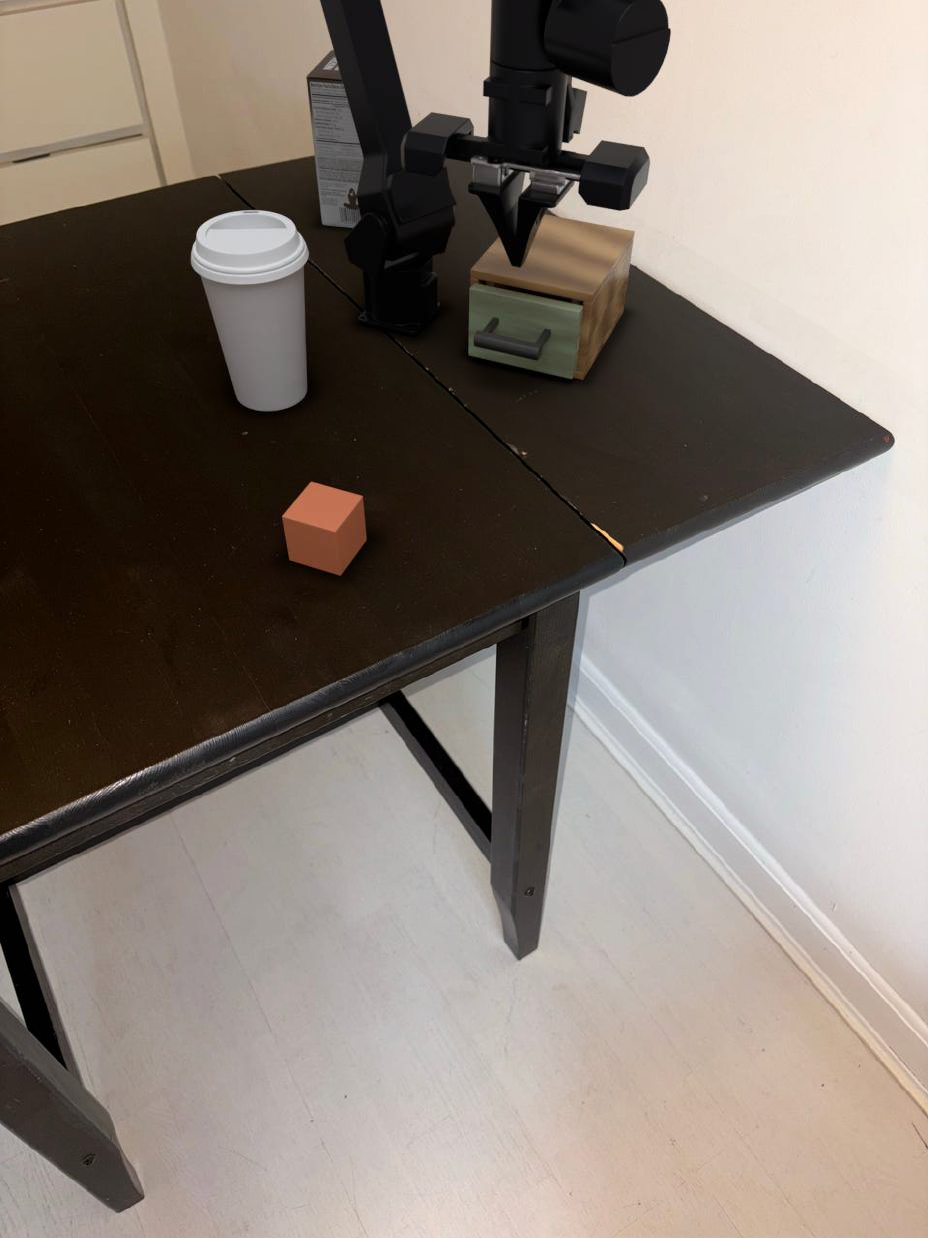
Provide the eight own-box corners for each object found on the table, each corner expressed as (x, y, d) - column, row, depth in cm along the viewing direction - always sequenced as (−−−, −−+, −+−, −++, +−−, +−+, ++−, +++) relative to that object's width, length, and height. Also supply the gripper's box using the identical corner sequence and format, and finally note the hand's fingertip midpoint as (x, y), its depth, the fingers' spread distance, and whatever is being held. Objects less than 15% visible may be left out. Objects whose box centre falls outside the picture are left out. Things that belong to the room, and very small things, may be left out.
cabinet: (583, 380, 89) (593, 294, 83) (468, 353, 92) (470, 269, 86) (623, 312, 98) (634, 230, 92) (517, 290, 101) (522, 209, 95)
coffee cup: (340, 374, 90) (325, 215, 79) (295, 430, 83) (272, 267, 72) (249, 355, 92) (222, 198, 81) (199, 408, 85) (162, 247, 75)
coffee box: (342, 193, 117) (330, 47, 105) (393, 198, 116) (386, 51, 105) (320, 226, 111) (304, 74, 99) (373, 231, 110) (364, 79, 98)
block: (289, 560, 72) (281, 516, 69) (317, 525, 75) (311, 480, 72) (340, 576, 71) (335, 532, 68) (367, 539, 74) (363, 495, 71)
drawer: (557, 404, 85) (563, 335, 80) (450, 378, 88) (450, 310, 83) (610, 316, 96) (619, 250, 91) (514, 295, 98) (517, 231, 93)
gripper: (683, 42, 71) (650, 245, 83) (453, 12, 76) (453, 207, 87) (643, 90, 64) (614, 304, 76) (393, 52, 69) (401, 259, 80)
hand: (518, 264), depth 80 cm, fingers closed
